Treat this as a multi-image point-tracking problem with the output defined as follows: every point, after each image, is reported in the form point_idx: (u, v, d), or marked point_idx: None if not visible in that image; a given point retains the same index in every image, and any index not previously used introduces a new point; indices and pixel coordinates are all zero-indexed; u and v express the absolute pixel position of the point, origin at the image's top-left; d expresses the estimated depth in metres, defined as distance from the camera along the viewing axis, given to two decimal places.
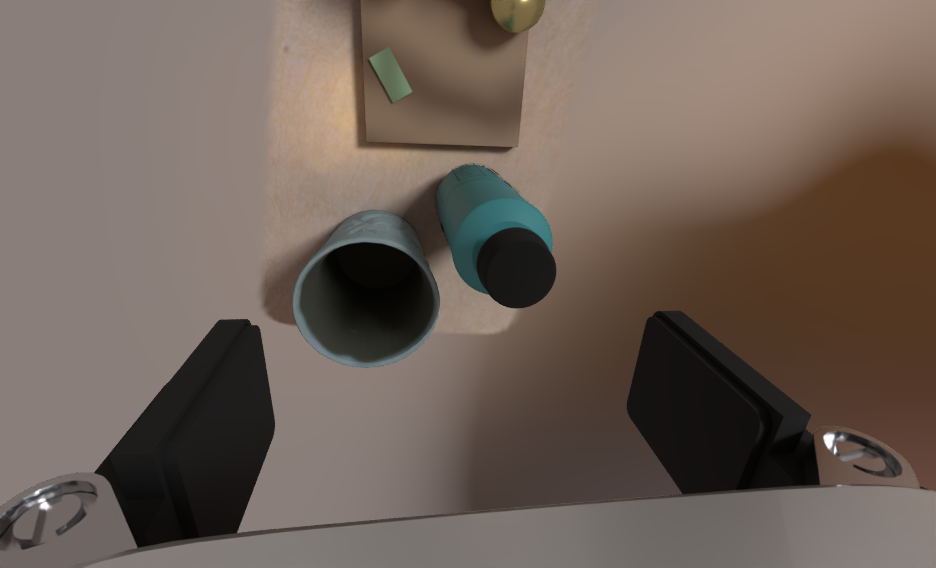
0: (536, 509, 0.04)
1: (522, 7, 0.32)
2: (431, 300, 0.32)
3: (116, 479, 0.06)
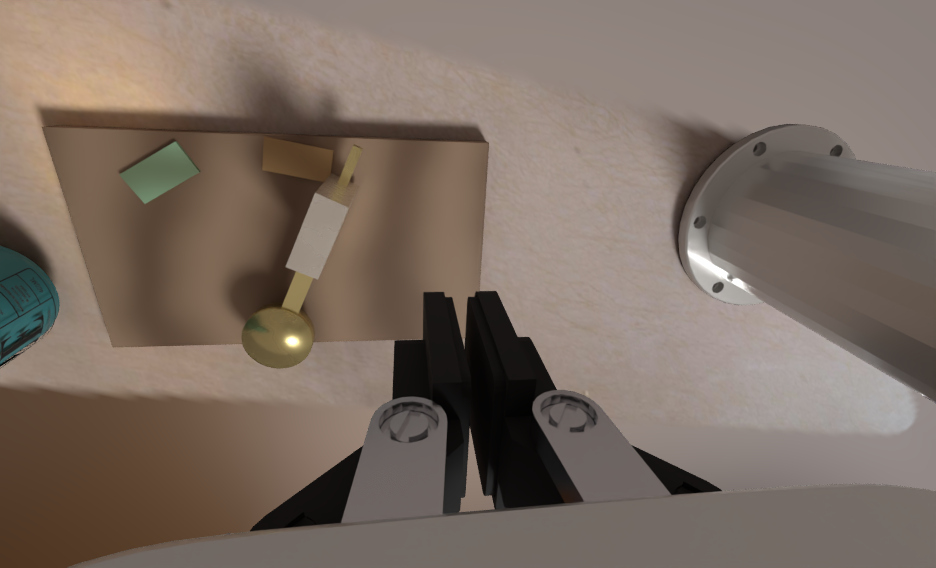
0: (536, 509, 0.04)
1: (270, 345, 0.26)
2: None
3: None
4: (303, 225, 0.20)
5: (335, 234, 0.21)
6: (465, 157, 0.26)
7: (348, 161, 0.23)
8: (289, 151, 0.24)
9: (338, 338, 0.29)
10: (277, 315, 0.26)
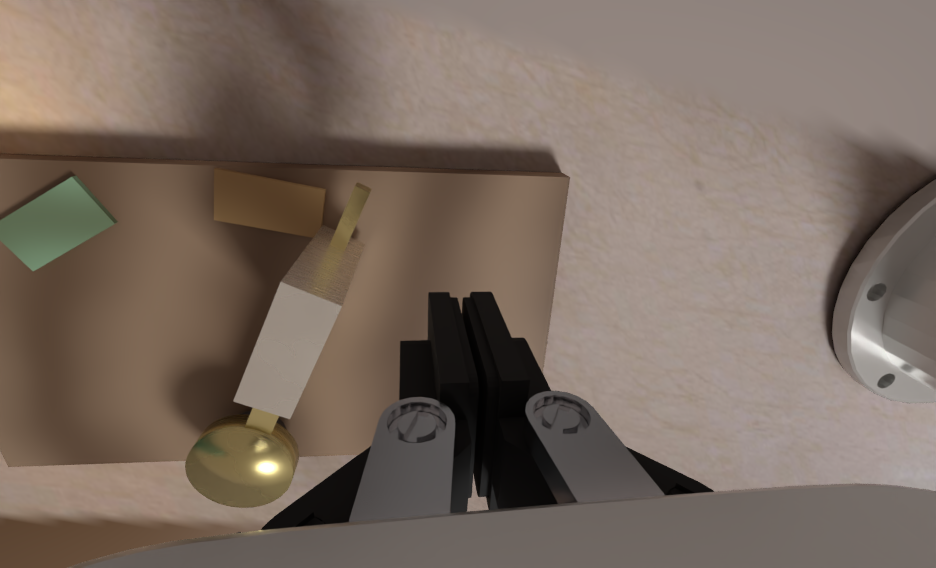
0: (536, 509, 0.04)
1: (230, 478, 0.17)
2: None
3: None
4: (261, 336, 0.11)
5: (318, 349, 0.12)
6: (531, 199, 0.16)
7: (347, 211, 0.14)
8: (255, 191, 0.15)
9: (334, 451, 0.20)
10: (238, 438, 0.17)
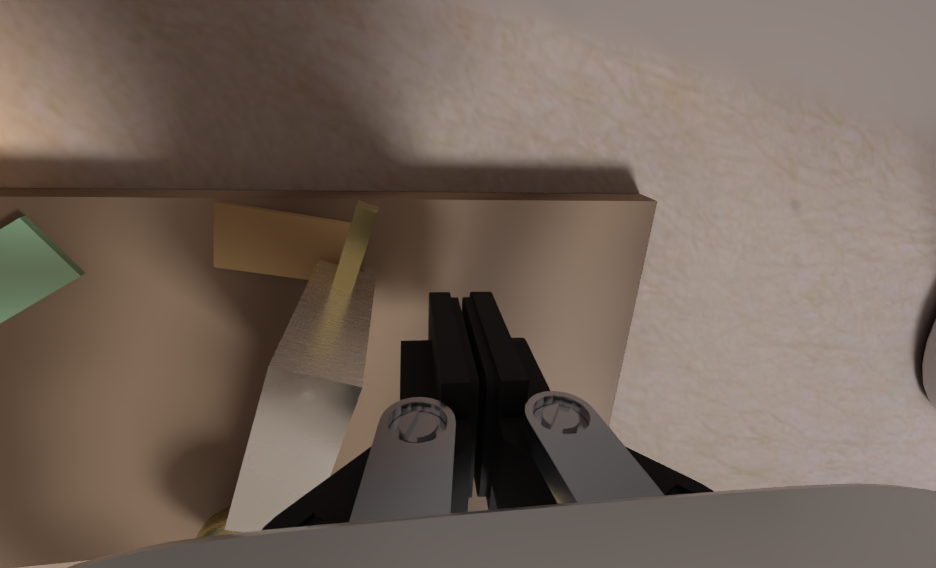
0: (536, 509, 0.04)
1: None
2: None
3: None
4: (251, 442, 0.08)
5: (335, 448, 0.08)
6: (610, 228, 0.13)
7: (350, 241, 0.10)
8: (268, 229, 0.12)
9: None
10: None
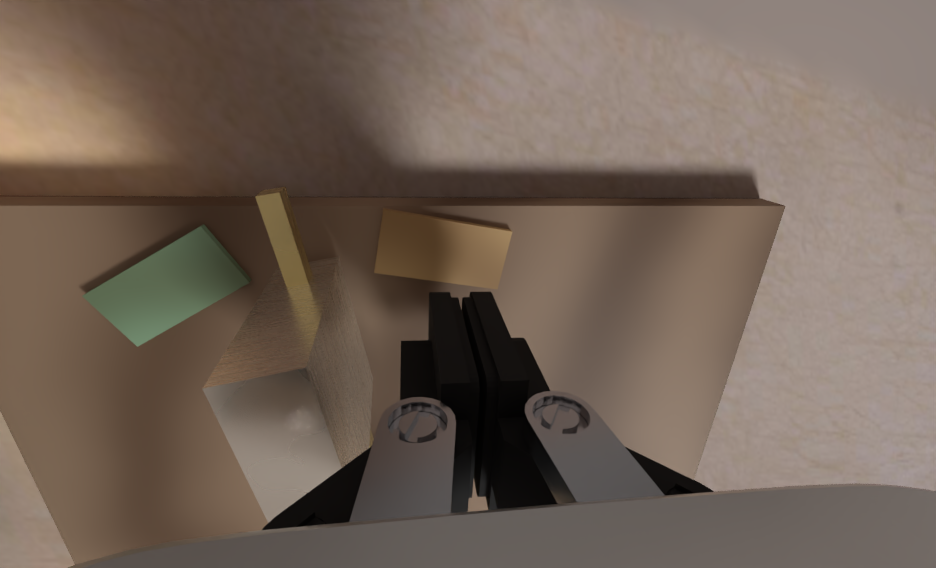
0: (536, 509, 0.04)
1: None
2: None
3: None
4: (243, 465, 0.08)
5: (326, 437, 0.08)
6: (739, 232, 0.14)
7: (273, 234, 0.10)
8: (429, 236, 0.12)
9: None
10: None
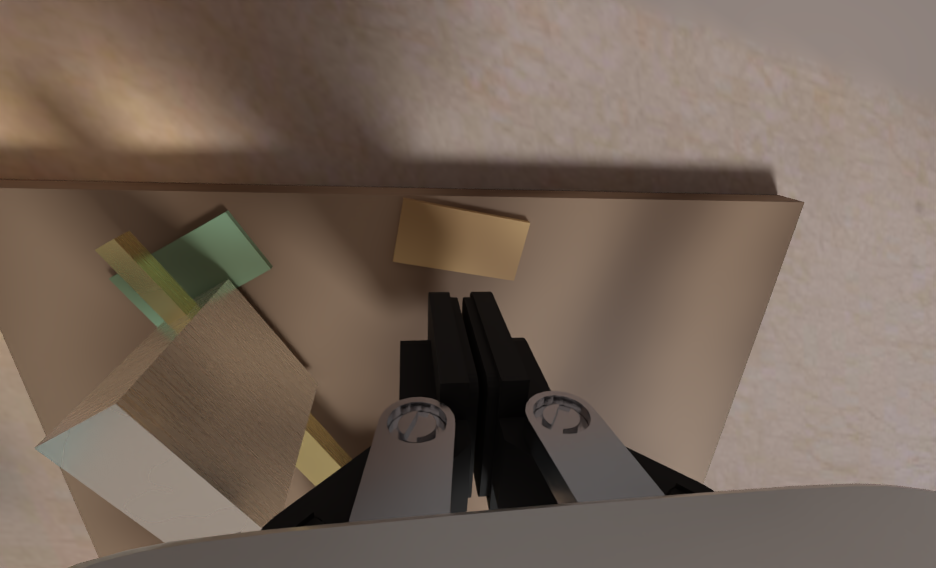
0: (536, 509, 0.04)
1: None
2: None
3: None
4: (118, 506, 0.08)
5: (178, 462, 0.08)
6: (757, 228, 0.14)
7: (129, 279, 0.10)
8: (448, 226, 0.12)
9: None
10: None
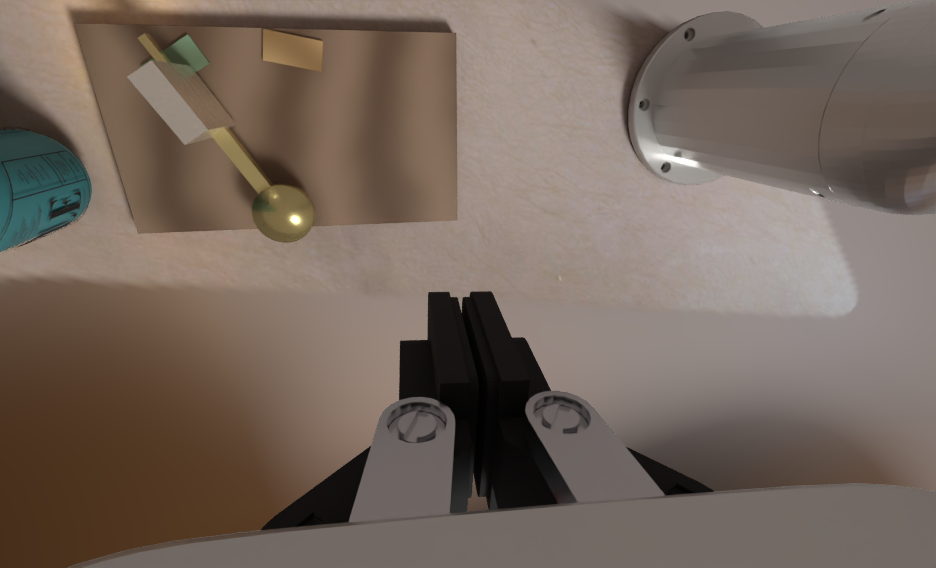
0: (536, 509, 0.04)
1: (284, 222, 0.31)
2: None
3: None
4: (152, 105, 0.24)
5: (171, 87, 0.24)
6: (436, 46, 0.30)
7: (150, 52, 0.26)
8: (285, 42, 0.28)
9: (335, 222, 0.33)
10: (260, 199, 0.30)
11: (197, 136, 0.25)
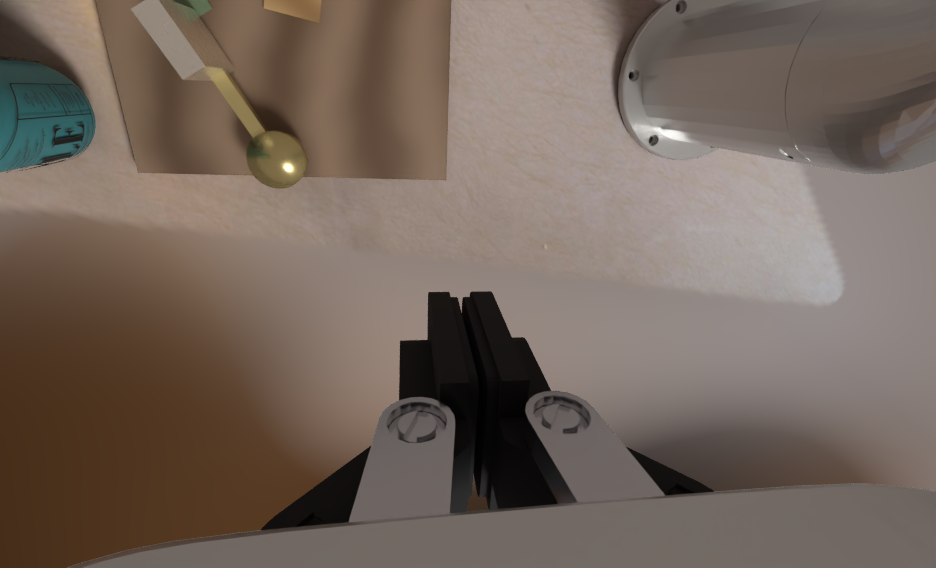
0: (536, 509, 0.04)
1: (277, 168, 0.32)
2: None
3: None
4: (154, 39, 0.25)
5: (172, 22, 0.25)
6: (432, 4, 0.31)
7: None
8: None
9: (327, 174, 0.34)
10: (254, 143, 0.31)
11: (195, 72, 0.26)
